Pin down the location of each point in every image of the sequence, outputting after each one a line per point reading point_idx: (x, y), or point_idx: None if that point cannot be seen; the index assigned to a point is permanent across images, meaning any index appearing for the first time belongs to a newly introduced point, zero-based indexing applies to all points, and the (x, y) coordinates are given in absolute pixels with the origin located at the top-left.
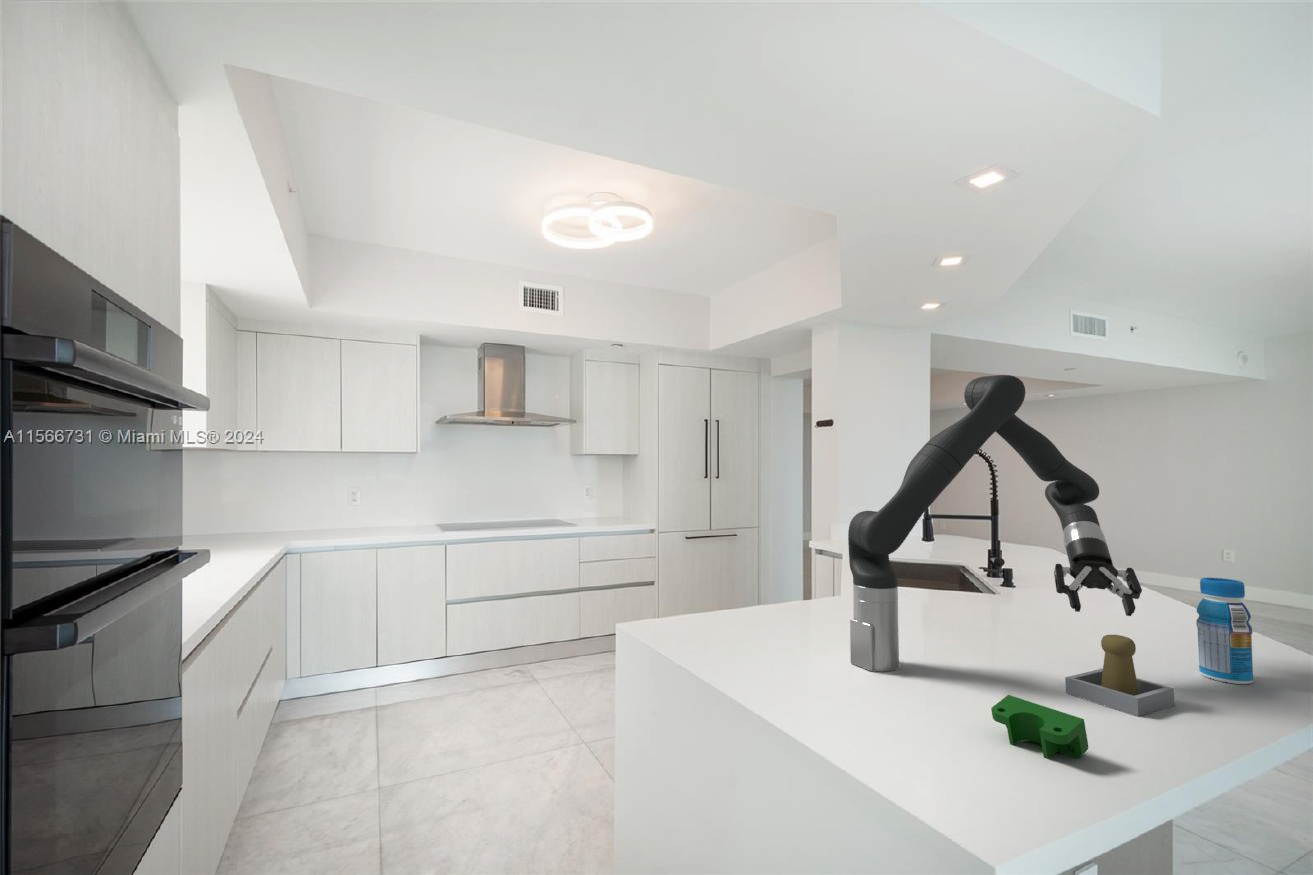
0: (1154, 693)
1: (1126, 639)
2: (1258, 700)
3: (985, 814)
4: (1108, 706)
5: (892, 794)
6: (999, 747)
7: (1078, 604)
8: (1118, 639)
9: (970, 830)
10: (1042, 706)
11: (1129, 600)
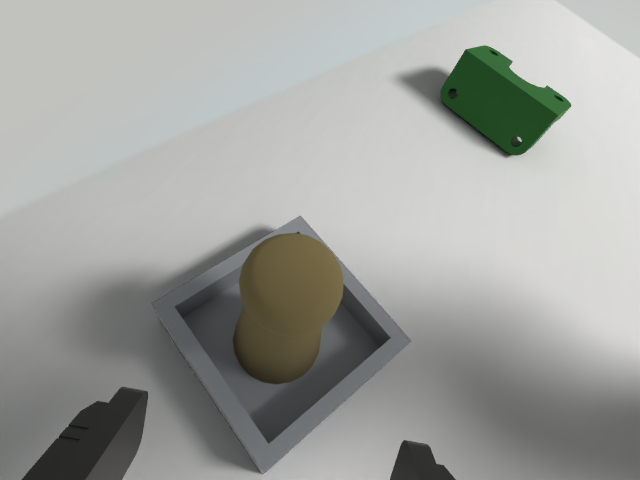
0: (238, 253)
1: (281, 240)
2: None
3: (541, 21)
4: None
5: (611, 42)
6: None
7: (420, 445)
8: (308, 241)
9: (549, 8)
10: (512, 82)
11: (86, 435)
